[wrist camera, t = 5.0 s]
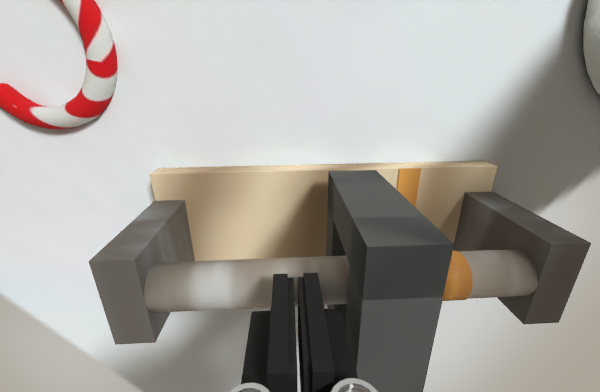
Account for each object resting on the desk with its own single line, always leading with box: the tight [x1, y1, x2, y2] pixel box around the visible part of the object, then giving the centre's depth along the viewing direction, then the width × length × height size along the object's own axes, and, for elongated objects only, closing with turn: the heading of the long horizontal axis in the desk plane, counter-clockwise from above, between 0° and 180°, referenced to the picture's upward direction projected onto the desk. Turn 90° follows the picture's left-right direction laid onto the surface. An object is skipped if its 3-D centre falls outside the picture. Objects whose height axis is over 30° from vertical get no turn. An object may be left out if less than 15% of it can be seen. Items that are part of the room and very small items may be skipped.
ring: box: [326, 170, 454, 392], centre depth 13 cm, size 2×8×7 cm, turn 0°
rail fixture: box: [89, 161, 591, 344], centre depth 15 cm, size 19×7×7 cm, turn 91°
